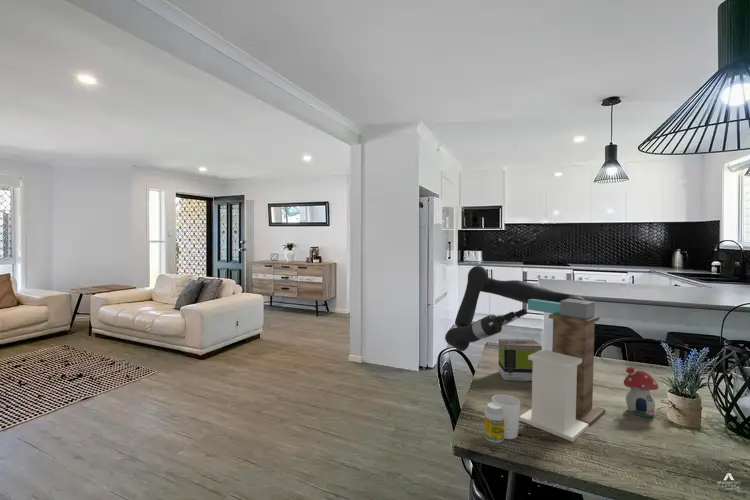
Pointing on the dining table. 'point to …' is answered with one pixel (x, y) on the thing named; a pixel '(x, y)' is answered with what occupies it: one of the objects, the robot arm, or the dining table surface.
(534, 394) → the low cream stand
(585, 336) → the tall walnut stand
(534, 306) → the bar
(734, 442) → the dining table surface
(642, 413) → the decorative ornament
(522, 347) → the tea box
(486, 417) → the supplement bottle
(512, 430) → the white cup
